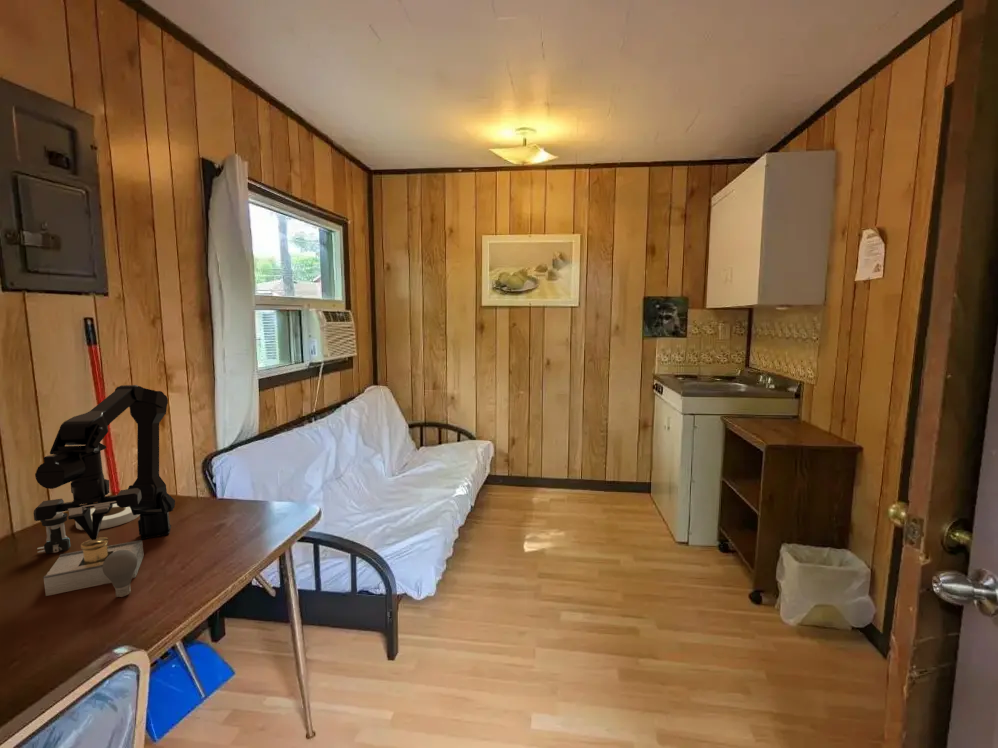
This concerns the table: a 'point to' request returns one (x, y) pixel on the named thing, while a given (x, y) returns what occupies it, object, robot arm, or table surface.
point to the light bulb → (120, 570)
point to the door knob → (95, 550)
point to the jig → (84, 570)
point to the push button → (55, 534)
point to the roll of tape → (114, 517)
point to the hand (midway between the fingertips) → (94, 539)
